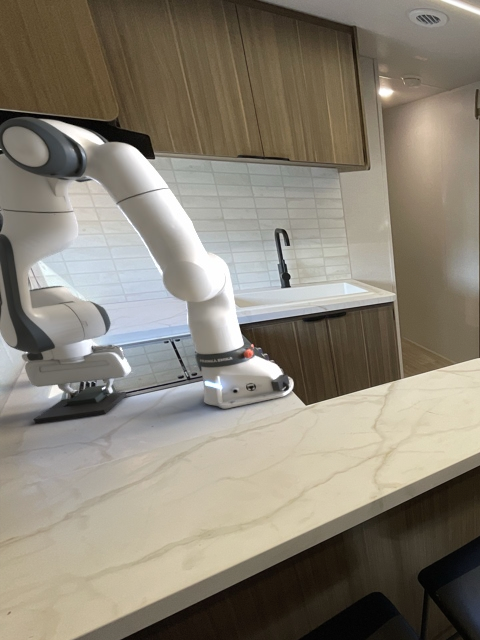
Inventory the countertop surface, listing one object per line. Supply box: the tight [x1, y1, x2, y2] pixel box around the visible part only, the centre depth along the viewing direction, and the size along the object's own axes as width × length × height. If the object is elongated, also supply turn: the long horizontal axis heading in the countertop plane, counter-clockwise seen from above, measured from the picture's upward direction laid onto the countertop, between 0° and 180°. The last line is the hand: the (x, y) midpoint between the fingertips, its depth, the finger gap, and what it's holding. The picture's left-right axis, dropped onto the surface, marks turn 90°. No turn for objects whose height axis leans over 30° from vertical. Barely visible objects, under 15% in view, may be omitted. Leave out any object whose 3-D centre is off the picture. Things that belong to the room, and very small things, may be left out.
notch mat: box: [33, 391, 127, 424], centre depth 107 cm, size 14×12×1 cm
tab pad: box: [67, 383, 117, 406], centre depth 112 cm, size 6×10×2 cm, turn 21°
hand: (91, 395), depth 111 cm, fingers closed on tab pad, 6 cm apart
